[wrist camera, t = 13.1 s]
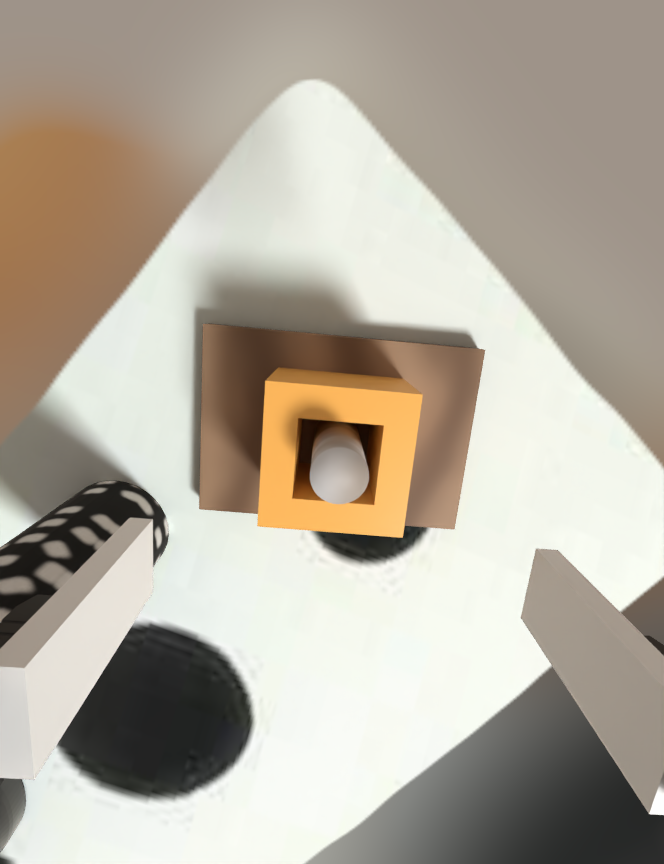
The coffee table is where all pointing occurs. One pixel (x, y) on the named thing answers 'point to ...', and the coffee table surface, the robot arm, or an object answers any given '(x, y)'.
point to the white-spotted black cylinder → (72, 540)
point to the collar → (344, 402)
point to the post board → (339, 355)
